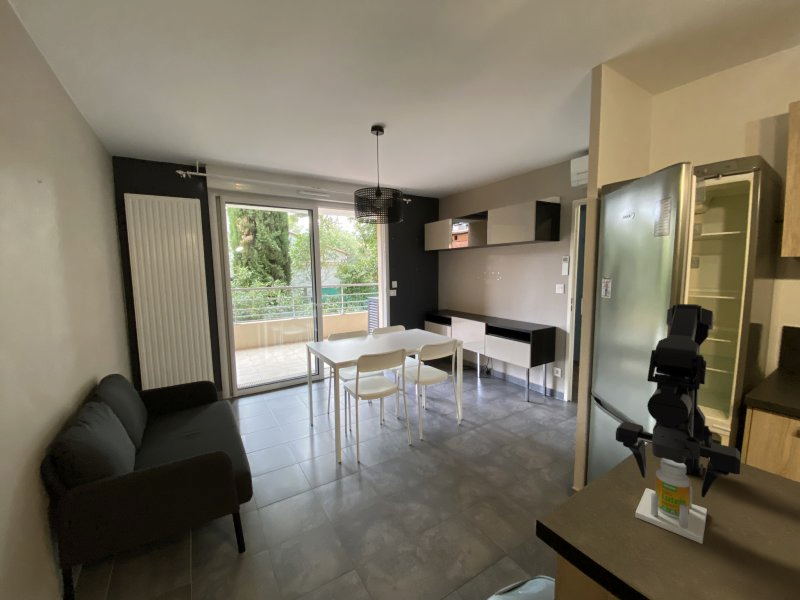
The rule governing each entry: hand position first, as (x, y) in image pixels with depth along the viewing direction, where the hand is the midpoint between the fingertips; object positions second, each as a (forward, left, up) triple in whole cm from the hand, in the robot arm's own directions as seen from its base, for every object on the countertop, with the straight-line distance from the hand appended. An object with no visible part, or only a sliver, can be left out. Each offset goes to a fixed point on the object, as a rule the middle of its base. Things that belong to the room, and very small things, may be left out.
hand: (672, 486), depth 68 cm
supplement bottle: (0, 0, -5) cm, 5 cm away
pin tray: (0, 0, -6) cm, 6 cm away
